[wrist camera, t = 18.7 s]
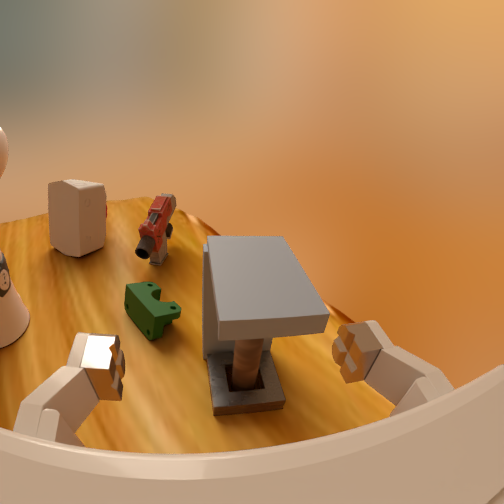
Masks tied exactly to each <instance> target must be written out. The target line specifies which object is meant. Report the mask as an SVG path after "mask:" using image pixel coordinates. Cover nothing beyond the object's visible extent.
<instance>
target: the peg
mask: <svg viewBox="0 0 504 504" xmlns="http://www.w3.org/2000/svg"><path fill="white" fill-rule="evenodd" d="M263 341H264V338H261V339H246V340H235V348H234V359H233V370H232V382H231V389H232V391H233V392H237V391H249V390H255V384H256V379H257V374H258V369H259V363H260V358H261V352H262V347H263Z"/></svg>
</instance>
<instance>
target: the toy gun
mask: <svg viewBox="0 0 504 504" xmlns="http://www.w3.org/2000/svg"><path fill="white" fill-rule="evenodd" d="M175 207H176V198H175V197H174V196H173V195H172V194H161V196H156V198H155V200H154V202H153V203H152V205H151V207H150V209H149V211H148V217H147V219H146V220H145V222H144V224H141V225H140V227H139V233H140V237H141V240H140V242H139V244H138V246H137V248H136V250H135V253H136V255H137V256H138V257H140V258H142V259H148V258H149V257H150V262H149V264H153V265H160V266H161V264H162V263H163V261H164V260H165V258H166V257H167V255H168V253H167V239H170V238H171V235H172V231H173V227H172V225H171V224H170V223H169V220H170V218H171V216H172V214H173V212H174V210H175Z"/></svg>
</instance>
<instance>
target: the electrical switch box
mask: <svg viewBox="0 0 504 504" xmlns="http://www.w3.org/2000/svg"><path fill="white" fill-rule="evenodd" d="M48 209H49V231H50V243H51V245H52V246H53V247H55V248H56V249H57V250H59V251H60V252H61V253H63V254H64V255H69V256H76V257H81V256H83V255H85V254H88V253H90V252H93V251H95V250H97V249H99V248H102V247H103V246H104V241H105V236H106V217H107V205H106V193H105V188H104V185H103V184H100V183H94V182H87V181H81V180H74V179H72V180H63V181H58V182H52V183H49V184H48Z"/></svg>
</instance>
